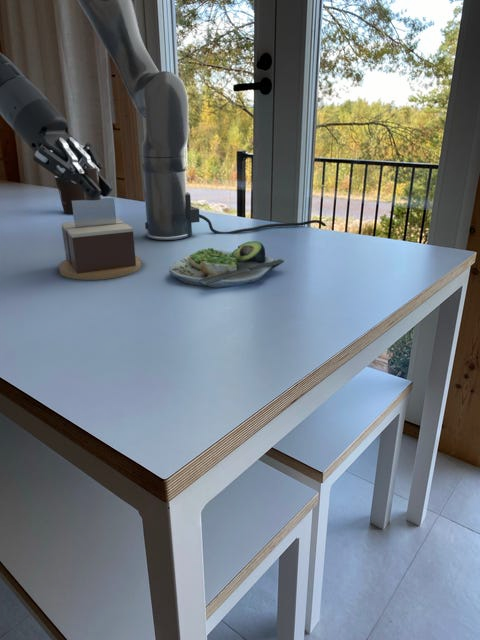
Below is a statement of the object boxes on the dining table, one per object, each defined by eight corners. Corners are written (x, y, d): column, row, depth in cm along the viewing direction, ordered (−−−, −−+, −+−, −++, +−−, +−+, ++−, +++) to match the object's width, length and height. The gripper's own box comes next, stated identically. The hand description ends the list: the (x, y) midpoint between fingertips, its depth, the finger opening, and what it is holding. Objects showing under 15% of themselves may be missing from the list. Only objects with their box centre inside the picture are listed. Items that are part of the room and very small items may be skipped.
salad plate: (252, 300, 69) (252, 270, 68) (147, 286, 75) (144, 258, 74) (289, 266, 86) (290, 241, 84) (200, 256, 92) (199, 232, 90)
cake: (128, 254, 94) (124, 215, 91) (151, 272, 82) (148, 229, 79) (53, 263, 87) (47, 222, 84) (67, 284, 76) (60, 238, 73)
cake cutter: (115, 236, 85) (108, 166, 81) (119, 239, 83) (112, 168, 79) (75, 240, 82) (66, 168, 78) (78, 243, 80) (69, 170, 76)
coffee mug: (86, 215, 131) (81, 177, 127) (55, 215, 131) (49, 177, 127) (98, 208, 142) (94, 173, 138) (69, 208, 142) (65, 173, 138)
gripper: (9, 95, 70) (90, 183, 71) (69, 98, 82) (137, 174, 83) (-12, 133, 74) (65, 217, 75) (49, 131, 86) (114, 203, 87)
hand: (103, 194), depth 79 cm, fingers closed on cake cutter, 2 cm apart
